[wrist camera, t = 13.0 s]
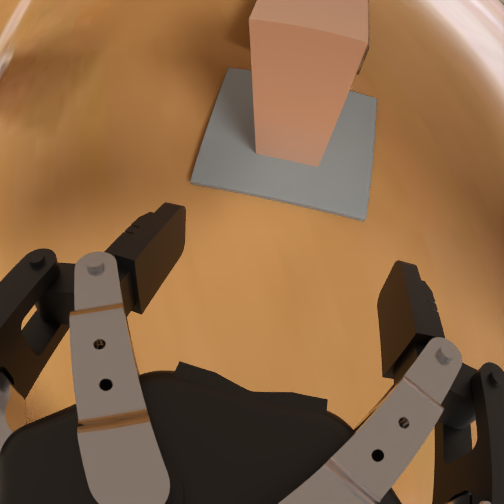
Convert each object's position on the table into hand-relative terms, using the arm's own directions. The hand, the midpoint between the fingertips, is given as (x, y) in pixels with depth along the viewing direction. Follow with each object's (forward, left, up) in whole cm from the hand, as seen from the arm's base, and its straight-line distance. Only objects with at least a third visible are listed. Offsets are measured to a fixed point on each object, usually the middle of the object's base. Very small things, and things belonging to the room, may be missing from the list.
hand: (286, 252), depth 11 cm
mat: (+1, -12, -12) cm, 17 cm away
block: (+1, -11, -12) cm, 16 cm away
